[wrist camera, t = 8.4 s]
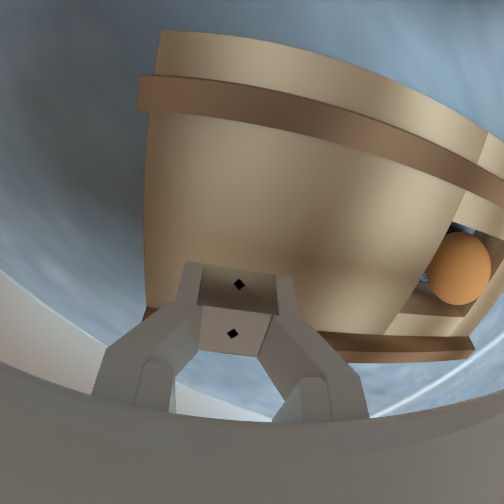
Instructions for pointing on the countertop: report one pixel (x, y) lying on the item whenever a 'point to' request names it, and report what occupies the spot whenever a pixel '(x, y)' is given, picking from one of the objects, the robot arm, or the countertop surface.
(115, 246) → the countertop surface
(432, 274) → the ball
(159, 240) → the lane board
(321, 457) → the robot arm
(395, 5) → the countertop surface
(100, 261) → the countertop surface
